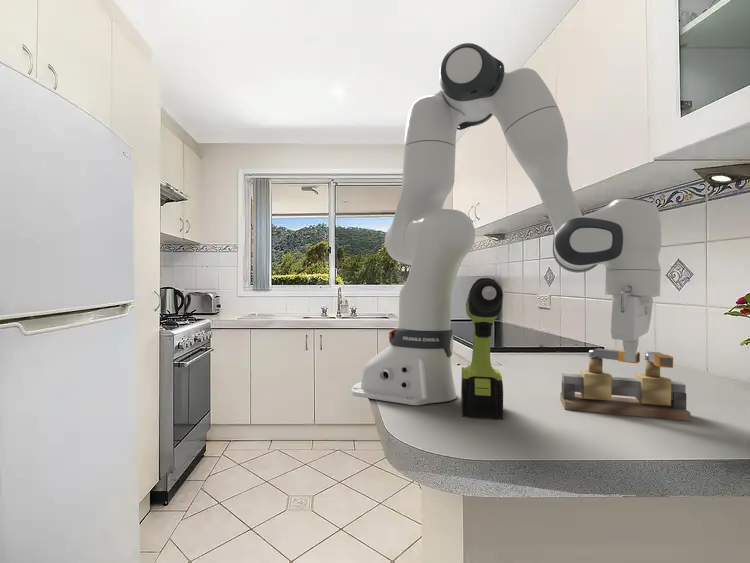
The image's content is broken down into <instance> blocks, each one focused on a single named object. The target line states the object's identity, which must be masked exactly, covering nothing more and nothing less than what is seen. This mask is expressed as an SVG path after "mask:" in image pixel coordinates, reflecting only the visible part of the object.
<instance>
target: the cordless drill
mask: <svg viewBox="0 0 750 563" xmlns="http://www.w3.org/2000/svg"><path fill="white" fill-rule="evenodd" d="M503 298H504V293H503V289H502V288H501V286H500V284H499V283H498V282H497V281H496V280H495V279H492V278H490V277H481V278H478V279H477V280H475V281H474V283H472V286H471V288H470V289H469V291H468V295H467V298H466V301H465V302H466V303H465V312H466V315H467V317H468V318H469V319H470V320H471V321H472V325H473V333H472V334H473V337H472V352H471V355H472V356H471V363H470V365H467V367H465V366H462V367H461V388H460V389H461V392H460V395H461V396H460V404H461V415H462V418H463V417H465V418H469V419H483V420H484V419H485V420H504V384H503V377H502V374H501V372H500V370H499V369H498V368H494V367H493V366H492V363H491V337H492V326H493V324H494V322H495V321H496V319H497V318H498V317H499V316H500V315H501V311H502V307H503Z"/></svg>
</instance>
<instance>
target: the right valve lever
mask: <svg viewBox="0 0 750 563" xmlns="http://www.w3.org/2000/svg"><path fill="white" fill-rule="evenodd" d="M644 360H645V361H650V362H652V363H654V365H656V366H658V367H660V368H667V369H669V368H670V369H674V356H671V355H669V354H664V353H661V352H660V351H659V352H658V351H647V352H645V353H644Z"/></svg>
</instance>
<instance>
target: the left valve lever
mask: <svg viewBox="0 0 750 563" xmlns="http://www.w3.org/2000/svg"><path fill="white" fill-rule="evenodd" d="M640 354H641V352H640V351H637V354H636V360H635V361H634V362H628V361H625V360H624V349H623V350H616V349H615V350H614V349H606V348H599V347H598V348H595V349H589V350H588V357H589V358H590V357H594V358H602V359H603V360H604V359H605V360H611V361H618V362H622V363H630V364H639V363H641V362H640V361H641V356H640Z"/></svg>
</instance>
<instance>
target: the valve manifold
mask: <svg viewBox="0 0 750 563" xmlns="http://www.w3.org/2000/svg"><path fill="white" fill-rule="evenodd" d="M603 360H604V358H594V357H589V358H588V369H580V374H576V373H575V374H574V373H563V372H562V373H561V392H560V394H559V395H560V397H559V398H560V402H561V404H562V406H563V409H564V410H566V411H567V410H568V411H580V412H588V413H589V412H590V413H598V412H599V414H600V413H601V414H611V415H612V414H613V415H621V416H633V417H642V418H643V417H644V418H653V419H654V418H656V419H666V420H676V421H686V422H687V421H688V422H691V411H689V410H687V392H686V391H687V390H686V389H687V388H686V387H687V386H686V384H685V383H683V382H682V381H675V380H672V379H671V378H669V377H667V376H665V375H664V374H661V367H658V366H656V365H654V363H652V362H650V361H648V360H645V372H644V373H637V372H636V373H634V374H635V375H634V378H632V377H618V376H612V374H611V373H609V372H608V371H607V370H603V364H604V363H603ZM632 397H634V398H632Z"/></svg>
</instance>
